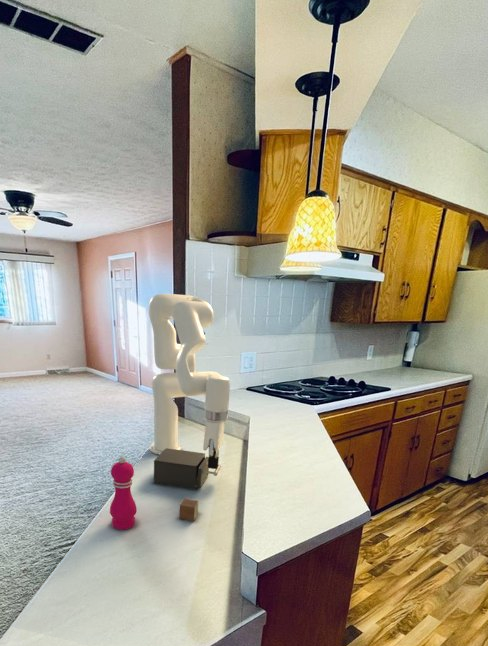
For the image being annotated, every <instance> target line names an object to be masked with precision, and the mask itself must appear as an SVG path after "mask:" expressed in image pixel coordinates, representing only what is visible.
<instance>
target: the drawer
mask: <svg viewBox="0 0 488 646" xmlns="http://www.w3.org/2000/svg"><path fill="white" fill-rule="evenodd" d="M208 457H209V456H205V459H204V461H203V462H202V461H201V462H200V464H199V465H198V467H197V474H196V481H197V479H198V482H197V488H202V486H203V484H204V483H205V481H206V479H207V478H208V476H209V475H213V476H214V477H217V476H218V475H219V472H220V471H221V469H222V465H221V464H218V468H217V469H214V471H210V468H208Z"/></svg>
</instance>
